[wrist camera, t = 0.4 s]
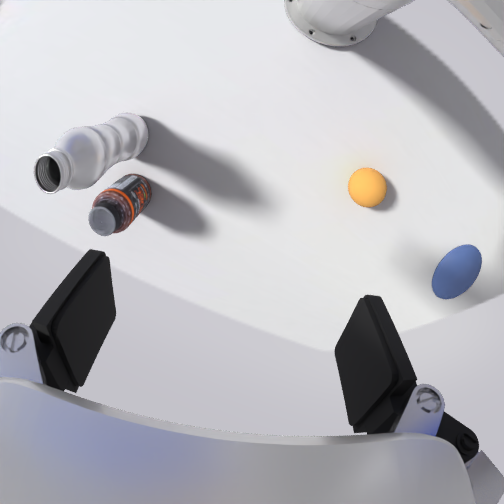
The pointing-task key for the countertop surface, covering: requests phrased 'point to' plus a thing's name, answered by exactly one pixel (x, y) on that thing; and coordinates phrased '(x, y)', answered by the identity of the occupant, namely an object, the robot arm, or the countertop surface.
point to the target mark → (456, 272)
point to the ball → (367, 187)
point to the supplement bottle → (119, 205)
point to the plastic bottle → (90, 153)
